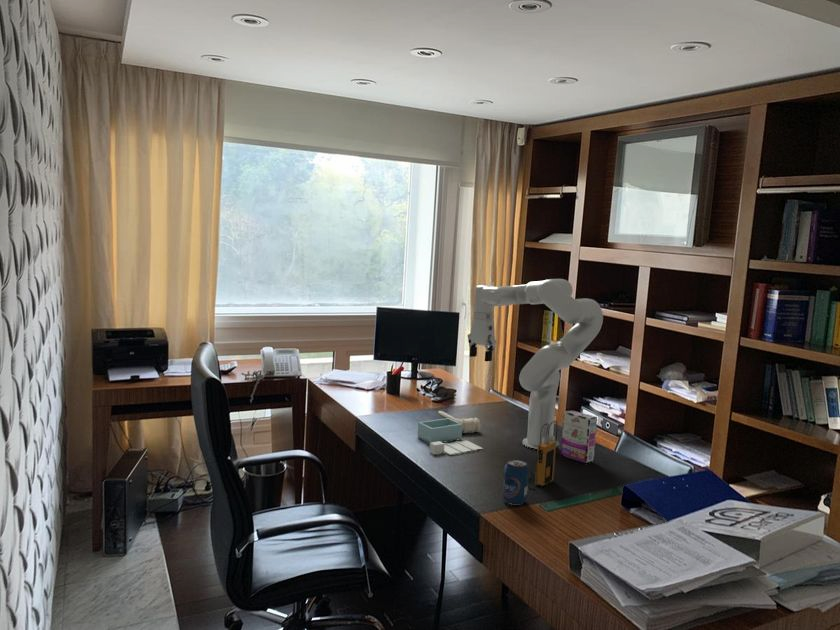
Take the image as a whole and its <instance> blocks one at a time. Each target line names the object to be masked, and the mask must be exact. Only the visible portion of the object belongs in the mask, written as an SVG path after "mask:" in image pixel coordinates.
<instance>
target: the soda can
mask: <svg viewBox="0 0 840 630" xmlns="http://www.w3.org/2000/svg"><path fill="white" fill-rule="evenodd" d="M529 470H530V469H529V467H528V463H527V462H526V460H523V459H518V458H511V459H508V460H507V461H506V464H505V466H504V473H503V474H504V475H503V488H502V489H503V490H502V498H503V500H505V501H506V502H508V503H512V504H522V503H524V502H525V503H526V502H527V500H528V489H529V488H528V487H529V486H528V485H529V478H528V476H529V475H530V471H529ZM505 501H504V502H505ZM506 502H505V503H506ZM525 503H524V504H525Z"/></svg>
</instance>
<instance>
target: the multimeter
mask: <svg viewBox="0 0 840 630" xmlns="http://www.w3.org/2000/svg"><path fill="white" fill-rule="evenodd" d="M553 422H554V423H556V426H558V422H557V420H554V421H553ZM553 422H552V423H553ZM552 423H551V424H552ZM551 424H550V425H551ZM544 425H547V424H544ZM544 425H543V426H544ZM543 426H542V428H543ZM548 426H549V424H548ZM549 428H550V426H549ZM549 428H548V427H547V431H548V438H547V434H546V440H545V442H544V443H541V434H540V444H539V445H538V448H537V450H536V463H535V466H536V467H535V474H536V475H535V479H534V480H535V481H534V484H535V483H536V484H535V488H537V486H538V485H537V484H540V485H545V484H546V483H548V482H550V481H551V480H553V481H554V473H555V463H556V449H557V447H556V441H557V440H558V439H557V437H558V429H556V431H555V433H556V434H555V442H553V441H549ZM541 432H542V429H541ZM550 483H551V482H550ZM548 484H549V483H548ZM546 485H547V484H546ZM546 485H545V486H546ZM535 488H534V489H535Z"/></svg>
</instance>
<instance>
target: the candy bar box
mask: <svg viewBox="0 0 840 630" xmlns="http://www.w3.org/2000/svg"><path fill="white" fill-rule="evenodd" d="M562 417H563V418H562V430H561V431H562V433H561V445H560V455H561V454H563V455H566V456H568V457H571V458H574V459H577V460H579V461H583V462H585V463H587V462H590V461H593V460H594V461H595V449H596V437H597V428H598V427H597V426H598V425H597V424H598V417H597V416H595V415H591V414H588V413H587V414H586V413H584V412H581V411H580V412H579V411H576V410H571V409H570V410H566V411H563V416H562Z"/></svg>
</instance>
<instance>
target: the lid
mask: <svg viewBox="0 0 840 630" xmlns="http://www.w3.org/2000/svg"><path fill="white" fill-rule="evenodd" d="M477 449H483V450H484V448H483V447H481V446H479V445H478V444H476V443H473V442H471V441H469V440H456V441H452V442H444V443H442V442H440V441H438V442H432V443H430V444H429V452H430V451H431V452H432V453H440V452H446V453H448V454H450V455H451V454H455V453H461V452H467V451H471V450H477ZM432 453H431V454H432Z"/></svg>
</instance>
